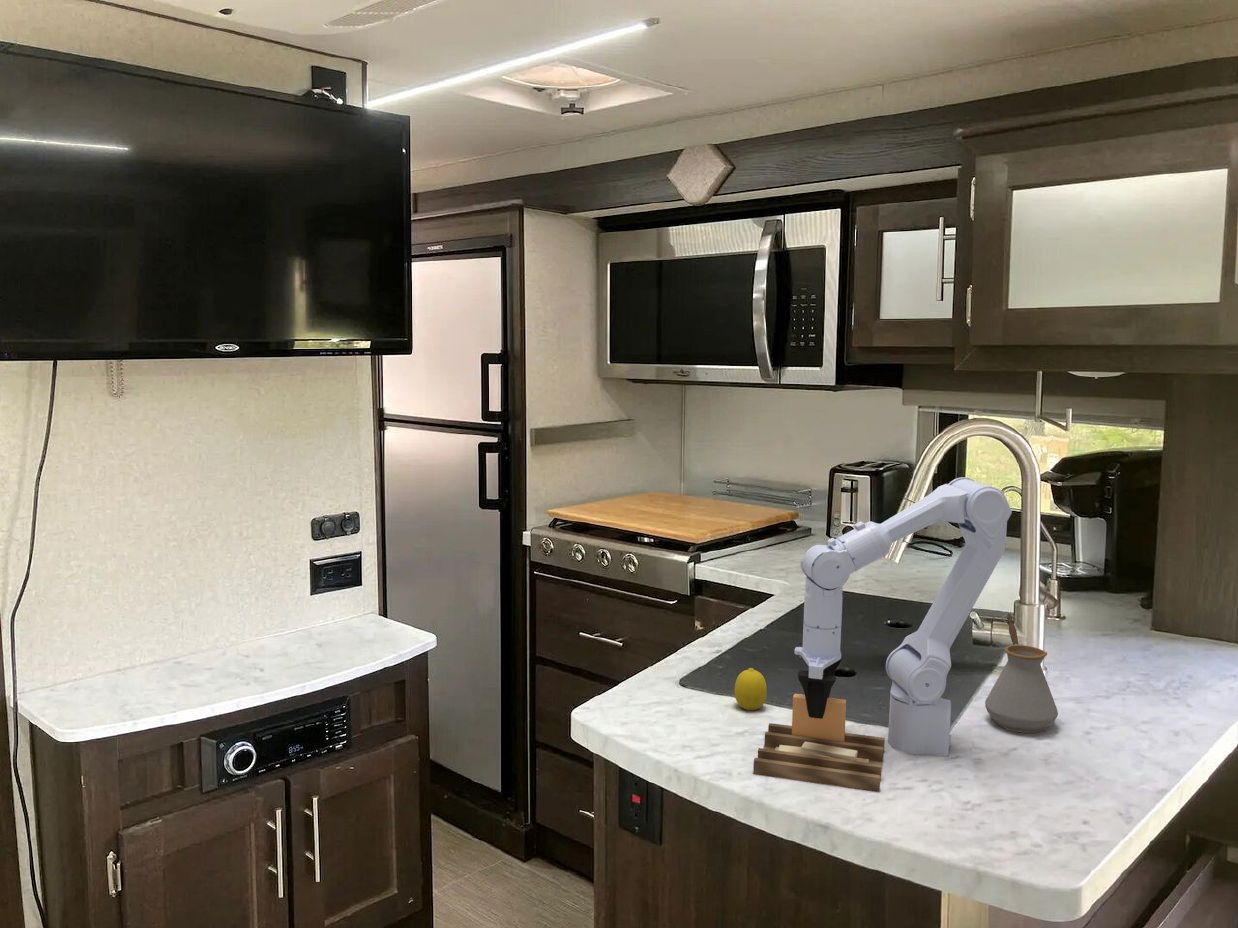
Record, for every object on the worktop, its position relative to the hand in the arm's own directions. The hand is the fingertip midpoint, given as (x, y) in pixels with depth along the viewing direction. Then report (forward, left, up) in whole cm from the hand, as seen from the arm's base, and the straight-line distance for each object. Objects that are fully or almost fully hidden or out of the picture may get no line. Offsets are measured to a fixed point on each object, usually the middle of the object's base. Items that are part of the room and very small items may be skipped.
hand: (818, 708), depth 154 cm
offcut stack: (-1, +5, -6) cm, 8 cm away
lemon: (+13, -13, -8) cm, 20 cm away
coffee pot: (-31, -28, -8) cm, 42 cm away
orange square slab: (0, 0, -6) cm, 6 cm away
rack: (-1, +4, -7) cm, 9 cm away
